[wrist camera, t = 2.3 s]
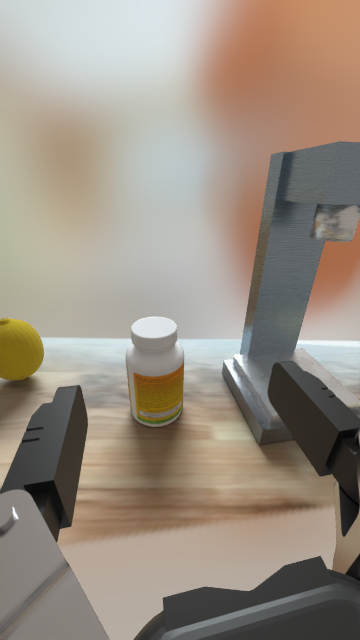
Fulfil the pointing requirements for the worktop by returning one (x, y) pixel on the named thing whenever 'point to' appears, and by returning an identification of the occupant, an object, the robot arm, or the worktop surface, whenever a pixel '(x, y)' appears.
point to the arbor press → (292, 274)
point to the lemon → (19, 349)
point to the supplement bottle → (155, 371)
